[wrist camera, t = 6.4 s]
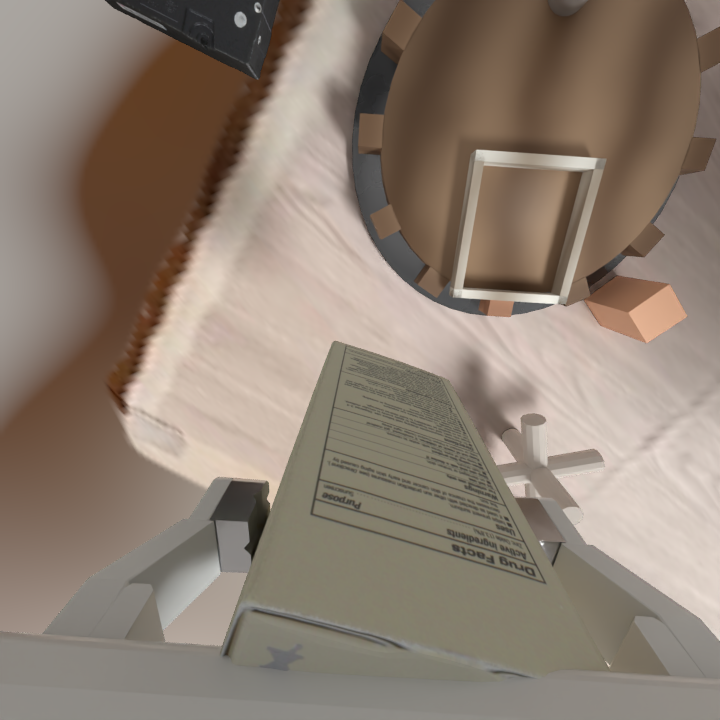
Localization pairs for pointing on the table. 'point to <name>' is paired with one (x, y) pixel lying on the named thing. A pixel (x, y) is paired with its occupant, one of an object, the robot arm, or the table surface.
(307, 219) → the table surface
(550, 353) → the table surface
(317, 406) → the skincare box
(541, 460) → the pipe connector
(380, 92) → the dial base
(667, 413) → the table surface
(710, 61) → the dial
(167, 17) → the disk drive
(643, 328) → the orange rectangular block
